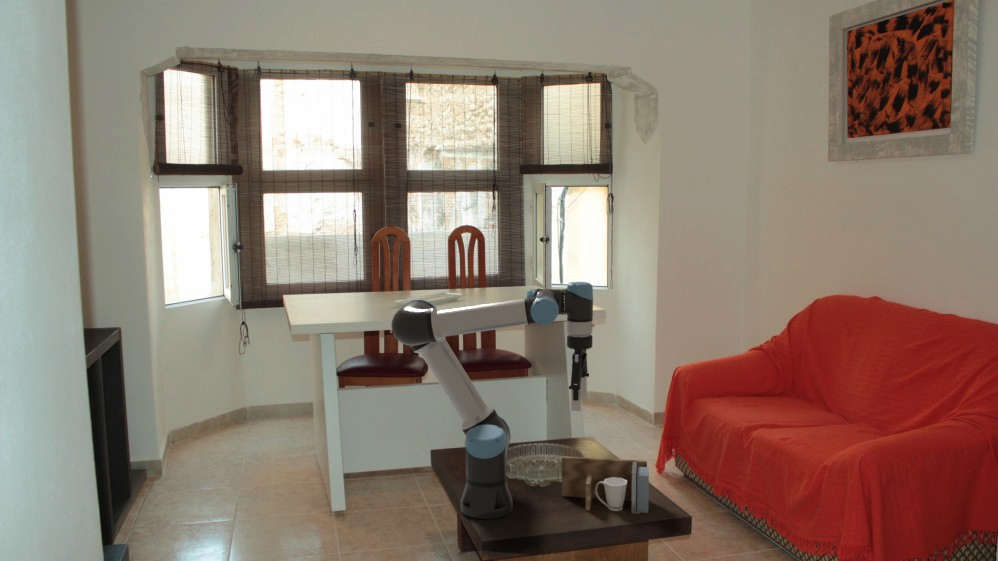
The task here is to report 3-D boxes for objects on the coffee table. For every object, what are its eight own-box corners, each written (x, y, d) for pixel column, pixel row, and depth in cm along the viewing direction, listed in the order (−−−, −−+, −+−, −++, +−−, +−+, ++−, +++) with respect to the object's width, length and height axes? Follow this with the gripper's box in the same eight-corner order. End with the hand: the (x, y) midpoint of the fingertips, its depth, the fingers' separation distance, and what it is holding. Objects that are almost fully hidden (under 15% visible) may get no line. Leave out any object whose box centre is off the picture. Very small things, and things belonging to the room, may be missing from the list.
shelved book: (636, 512, 236) (637, 475, 235) (637, 502, 243) (637, 466, 242) (648, 512, 236) (648, 475, 234) (648, 503, 243) (648, 467, 241)
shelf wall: (562, 496, 249) (562, 457, 247) (562, 494, 250) (562, 456, 248) (646, 501, 244) (646, 462, 242) (646, 499, 245) (647, 460, 244)
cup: (621, 514, 235) (621, 487, 234) (589, 507, 240) (589, 480, 239) (631, 506, 240) (632, 479, 239) (601, 499, 246) (601, 473, 245)
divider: (585, 510, 238) (585, 483, 237) (588, 499, 246) (588, 473, 245) (589, 510, 238) (590, 483, 237) (592, 499, 246) (592, 473, 245)
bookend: (631, 513, 236) (631, 472, 234) (632, 500, 244) (632, 461, 243) (639, 513, 235) (640, 473, 234) (640, 501, 244) (641, 462, 242)
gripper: (587, 343, 232) (586, 417, 234) (597, 327, 256) (596, 393, 258) (560, 342, 233) (560, 415, 236) (572, 326, 257) (572, 392, 260)
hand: (579, 404), depth 247 cm, fingers open, 13 cm apart
